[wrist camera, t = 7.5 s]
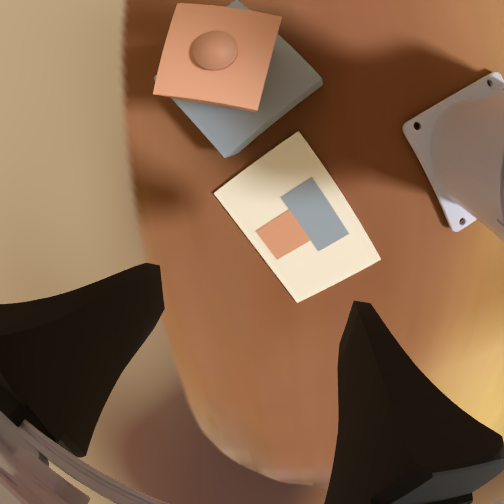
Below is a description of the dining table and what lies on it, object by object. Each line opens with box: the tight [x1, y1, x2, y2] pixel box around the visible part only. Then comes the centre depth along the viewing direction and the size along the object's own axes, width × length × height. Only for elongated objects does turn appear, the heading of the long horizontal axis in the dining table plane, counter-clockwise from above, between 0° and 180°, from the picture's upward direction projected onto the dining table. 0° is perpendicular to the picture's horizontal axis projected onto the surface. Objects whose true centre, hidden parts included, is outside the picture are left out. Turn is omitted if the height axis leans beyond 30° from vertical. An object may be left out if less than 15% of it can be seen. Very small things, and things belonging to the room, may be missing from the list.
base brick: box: [153, 0, 323, 158], centre depth 15 cm, size 7×7×3 cm
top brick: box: [153, 3, 282, 113], centre depth 11 cm, size 4×4×5 cm
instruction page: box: [214, 131, 381, 303], centre depth 19 cm, size 7×10×1 cm
